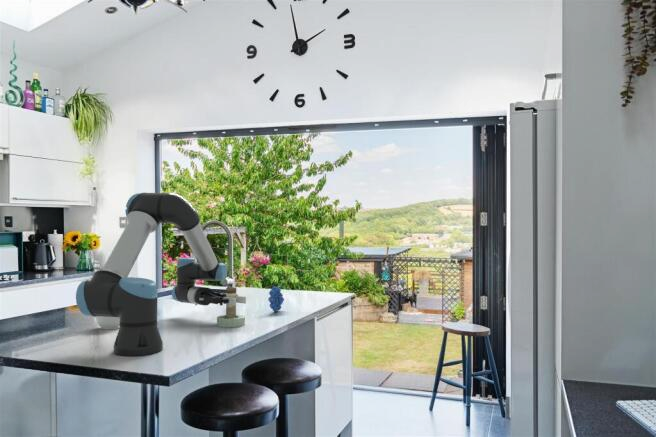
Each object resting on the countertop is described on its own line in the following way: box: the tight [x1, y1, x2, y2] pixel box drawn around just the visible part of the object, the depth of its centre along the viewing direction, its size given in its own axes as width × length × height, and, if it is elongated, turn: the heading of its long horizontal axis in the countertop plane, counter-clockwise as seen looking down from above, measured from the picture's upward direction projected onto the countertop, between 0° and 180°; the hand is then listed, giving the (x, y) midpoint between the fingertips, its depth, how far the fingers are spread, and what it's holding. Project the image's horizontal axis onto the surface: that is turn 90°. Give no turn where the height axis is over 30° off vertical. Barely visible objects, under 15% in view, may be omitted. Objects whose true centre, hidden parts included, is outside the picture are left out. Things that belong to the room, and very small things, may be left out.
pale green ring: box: [216, 314, 246, 328], centre depth 222 cm, size 11×11×3 cm
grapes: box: [268, 285, 285, 313], centre depth 251 cm, size 12×7×12 cm, turn 159°
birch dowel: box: [225, 286, 237, 318], centre depth 222 cm, size 4×4×15 cm
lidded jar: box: [95, 316, 120, 330], centre depth 214 cm, size 11×11×9 cm
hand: (240, 300), depth 219 cm, fingers open, 5 cm apart
